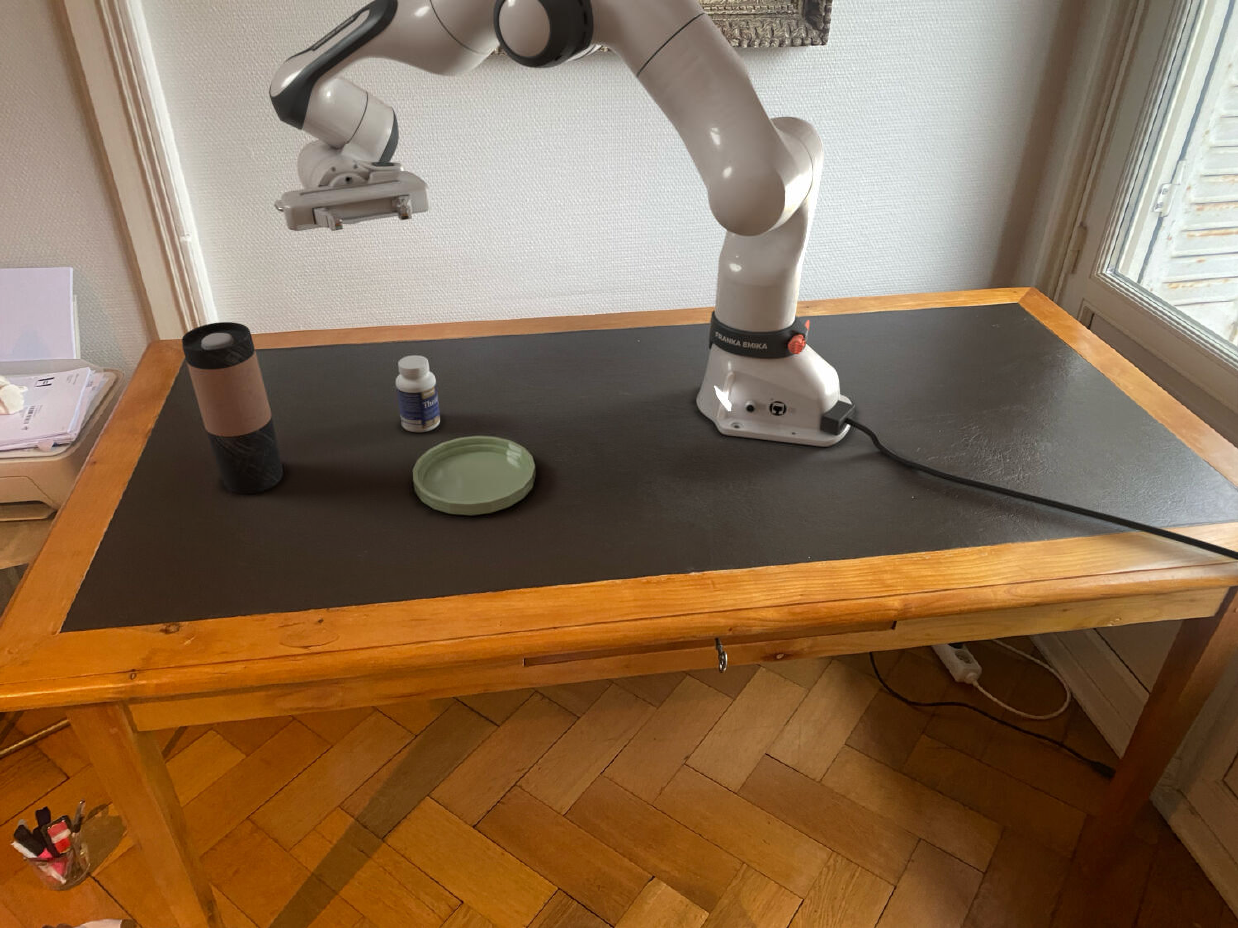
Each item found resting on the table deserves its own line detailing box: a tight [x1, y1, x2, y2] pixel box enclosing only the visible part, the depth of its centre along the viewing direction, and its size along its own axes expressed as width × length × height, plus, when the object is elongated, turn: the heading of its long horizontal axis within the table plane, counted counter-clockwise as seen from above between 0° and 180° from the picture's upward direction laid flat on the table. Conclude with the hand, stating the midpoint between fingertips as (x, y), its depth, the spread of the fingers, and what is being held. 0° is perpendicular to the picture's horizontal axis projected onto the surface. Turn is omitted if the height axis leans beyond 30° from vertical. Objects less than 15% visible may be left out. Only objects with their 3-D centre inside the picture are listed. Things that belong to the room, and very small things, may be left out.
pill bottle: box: [395, 355, 441, 433], centre depth 122 cm, size 5×5×10 cm
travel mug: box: [181, 321, 284, 495], centre depth 107 cm, size 8×8×20 cm
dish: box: [412, 435, 537, 516], centre depth 112 cm, size 15×15×2 cm
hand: (372, 219), depth 119 cm, fingers open, 8 cm apart
